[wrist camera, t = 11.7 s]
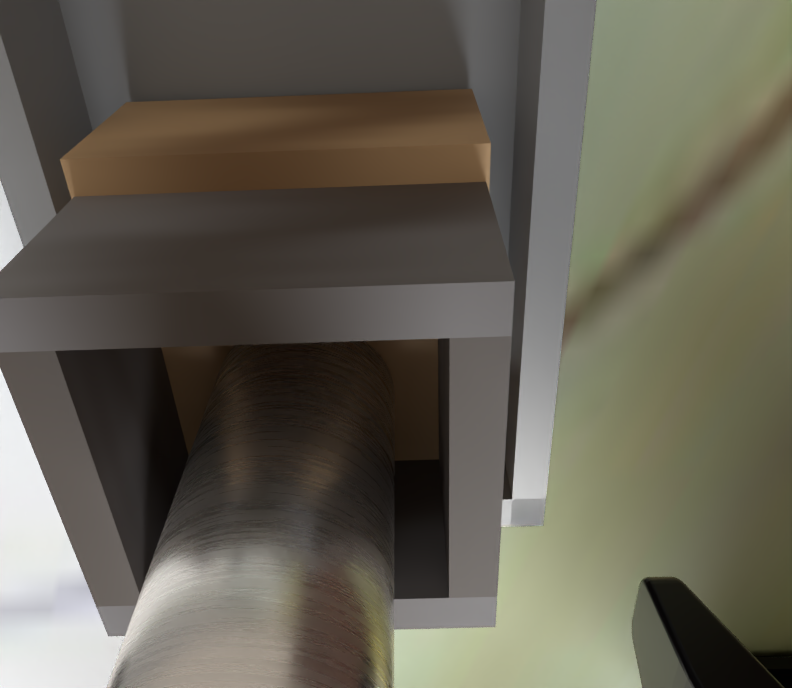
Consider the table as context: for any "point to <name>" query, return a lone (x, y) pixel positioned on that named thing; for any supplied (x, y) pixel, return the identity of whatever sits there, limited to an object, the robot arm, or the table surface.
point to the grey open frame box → (269, 316)
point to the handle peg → (277, 532)
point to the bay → (335, 74)
